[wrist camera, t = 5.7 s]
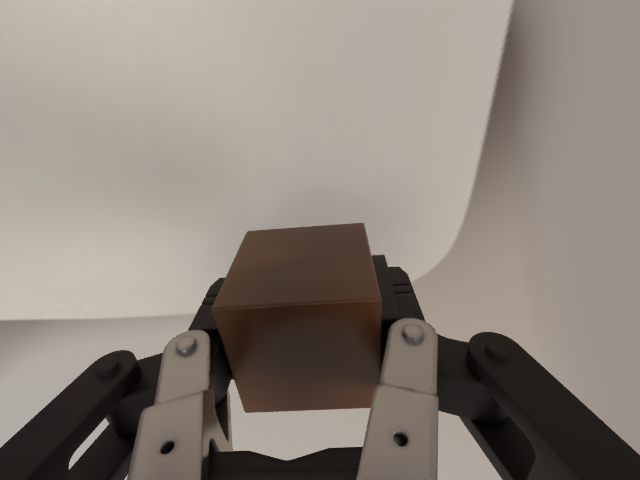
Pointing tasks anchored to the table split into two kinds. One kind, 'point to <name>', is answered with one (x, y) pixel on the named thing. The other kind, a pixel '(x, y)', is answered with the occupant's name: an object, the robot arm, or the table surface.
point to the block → (302, 319)
